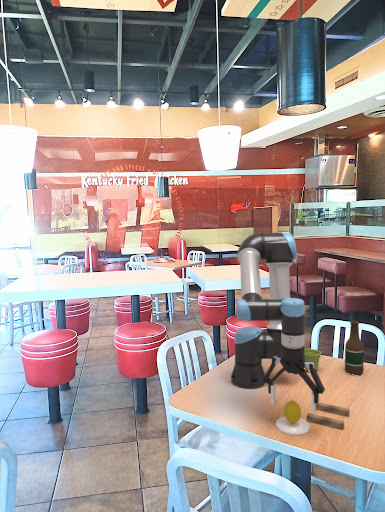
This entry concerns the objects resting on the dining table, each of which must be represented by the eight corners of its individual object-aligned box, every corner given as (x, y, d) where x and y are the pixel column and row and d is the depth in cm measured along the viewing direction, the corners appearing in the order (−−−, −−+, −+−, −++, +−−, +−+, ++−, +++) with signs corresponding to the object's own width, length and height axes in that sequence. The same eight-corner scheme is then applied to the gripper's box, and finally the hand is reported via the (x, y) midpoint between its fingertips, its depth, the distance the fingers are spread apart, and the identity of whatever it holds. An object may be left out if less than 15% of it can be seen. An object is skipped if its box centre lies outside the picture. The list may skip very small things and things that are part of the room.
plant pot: (300, 373, 178) (300, 354, 178) (299, 365, 187) (299, 348, 187) (322, 374, 176) (322, 355, 175) (320, 367, 185) (320, 349, 185)
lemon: (282, 420, 134) (281, 397, 134) (298, 419, 134) (297, 396, 134) (287, 428, 129) (286, 404, 128) (304, 426, 129) (302, 403, 129)
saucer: (271, 430, 130) (271, 427, 130) (282, 415, 139) (282, 413, 139) (304, 438, 124) (304, 435, 124) (313, 423, 133) (313, 420, 133)
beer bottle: (355, 377, 172) (355, 323, 170) (341, 371, 179) (341, 320, 177) (367, 373, 176) (367, 321, 174) (352, 368, 183) (353, 318, 181)
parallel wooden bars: (306, 421, 135) (306, 415, 135) (315, 406, 145) (315, 401, 145) (343, 429, 129) (343, 424, 129) (349, 414, 139) (349, 409, 139)
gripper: (253, 343, 133) (253, 403, 134) (329, 354, 120) (328, 421, 121) (261, 337, 139) (261, 395, 141) (334, 347, 126) (333, 411, 128)
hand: (292, 407), depth 131 cm, fingers open, 13 cm apart
